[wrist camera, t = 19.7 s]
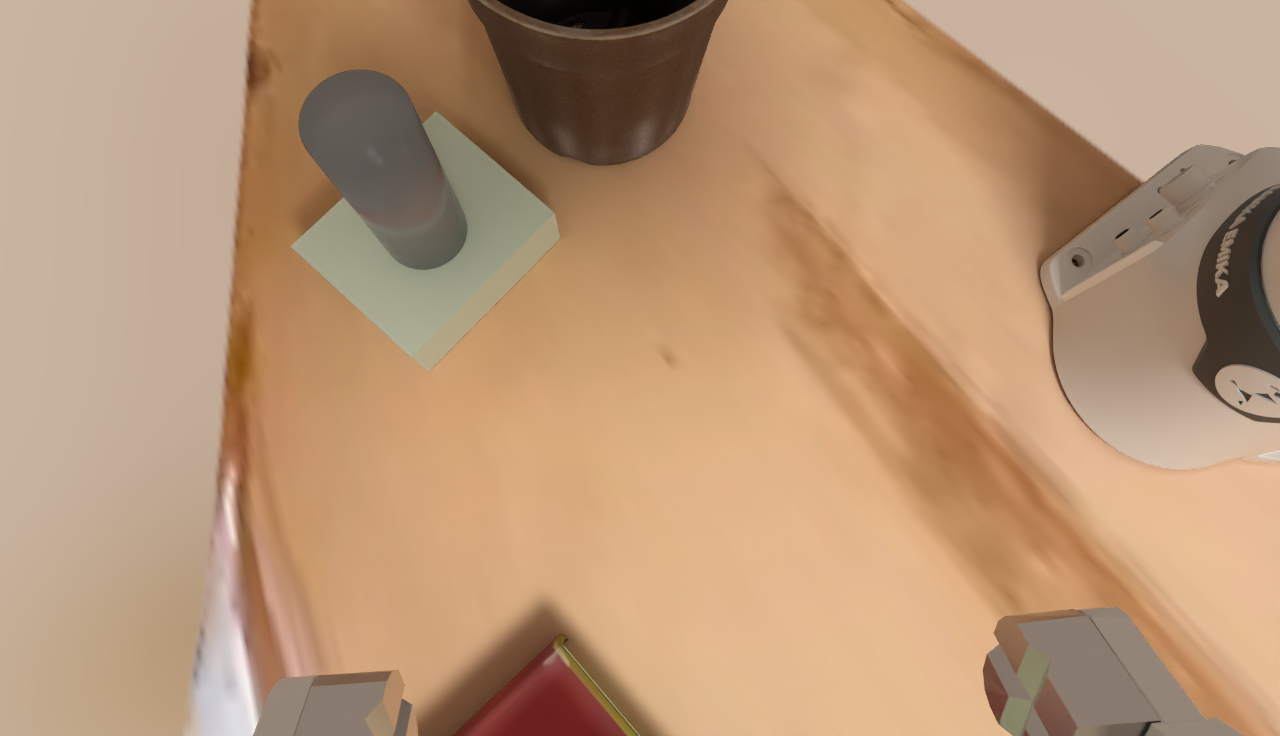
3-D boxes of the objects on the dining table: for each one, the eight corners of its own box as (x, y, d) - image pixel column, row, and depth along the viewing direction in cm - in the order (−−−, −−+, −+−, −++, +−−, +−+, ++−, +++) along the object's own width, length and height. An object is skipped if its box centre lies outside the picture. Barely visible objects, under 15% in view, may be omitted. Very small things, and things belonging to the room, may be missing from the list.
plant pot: (625, -58, 54) (626, -302, 38) (770, 103, 51) (836, -86, 36) (437, 65, 51) (356, -142, 36) (581, 240, 49) (562, 102, 33)
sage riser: (450, 143, 50) (436, 110, 46) (560, 238, 49) (554, 212, 45) (317, 269, 48) (290, 246, 44) (428, 372, 47) (410, 357, 43)
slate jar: (425, 175, 45) (359, 49, 34) (485, 227, 45) (438, 117, 33) (364, 232, 44) (274, 123, 33) (424, 286, 44) (354, 195, 32)
